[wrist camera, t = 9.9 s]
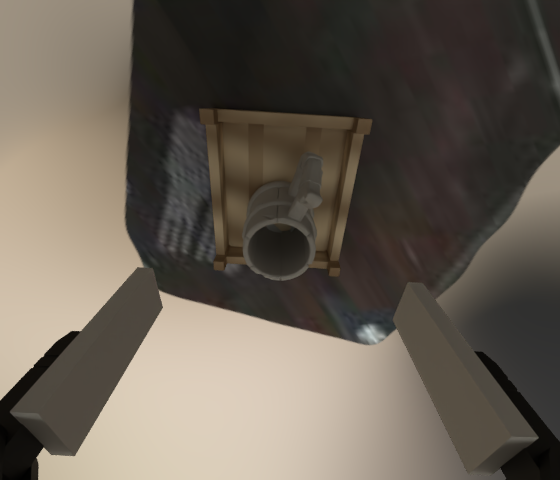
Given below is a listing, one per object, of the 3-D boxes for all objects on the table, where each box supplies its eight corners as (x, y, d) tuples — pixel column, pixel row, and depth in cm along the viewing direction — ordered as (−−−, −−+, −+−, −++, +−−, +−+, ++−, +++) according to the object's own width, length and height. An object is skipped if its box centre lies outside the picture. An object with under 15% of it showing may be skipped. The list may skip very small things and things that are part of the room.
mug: (240, 223, 30) (216, 285, 20) (277, 129, 25) (273, 146, 15) (295, 245, 32) (300, 314, 21) (341, 160, 27) (379, 196, 16)
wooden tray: (213, 108, 25) (199, 108, 21) (357, 117, 25) (372, 119, 21) (223, 248, 33) (214, 269, 29) (331, 254, 34) (338, 276, 29)
